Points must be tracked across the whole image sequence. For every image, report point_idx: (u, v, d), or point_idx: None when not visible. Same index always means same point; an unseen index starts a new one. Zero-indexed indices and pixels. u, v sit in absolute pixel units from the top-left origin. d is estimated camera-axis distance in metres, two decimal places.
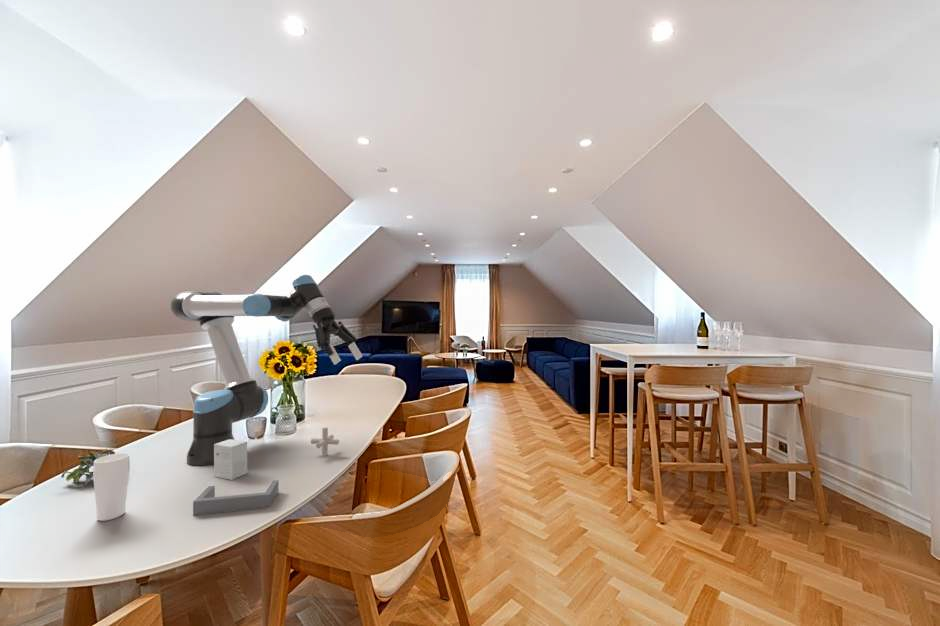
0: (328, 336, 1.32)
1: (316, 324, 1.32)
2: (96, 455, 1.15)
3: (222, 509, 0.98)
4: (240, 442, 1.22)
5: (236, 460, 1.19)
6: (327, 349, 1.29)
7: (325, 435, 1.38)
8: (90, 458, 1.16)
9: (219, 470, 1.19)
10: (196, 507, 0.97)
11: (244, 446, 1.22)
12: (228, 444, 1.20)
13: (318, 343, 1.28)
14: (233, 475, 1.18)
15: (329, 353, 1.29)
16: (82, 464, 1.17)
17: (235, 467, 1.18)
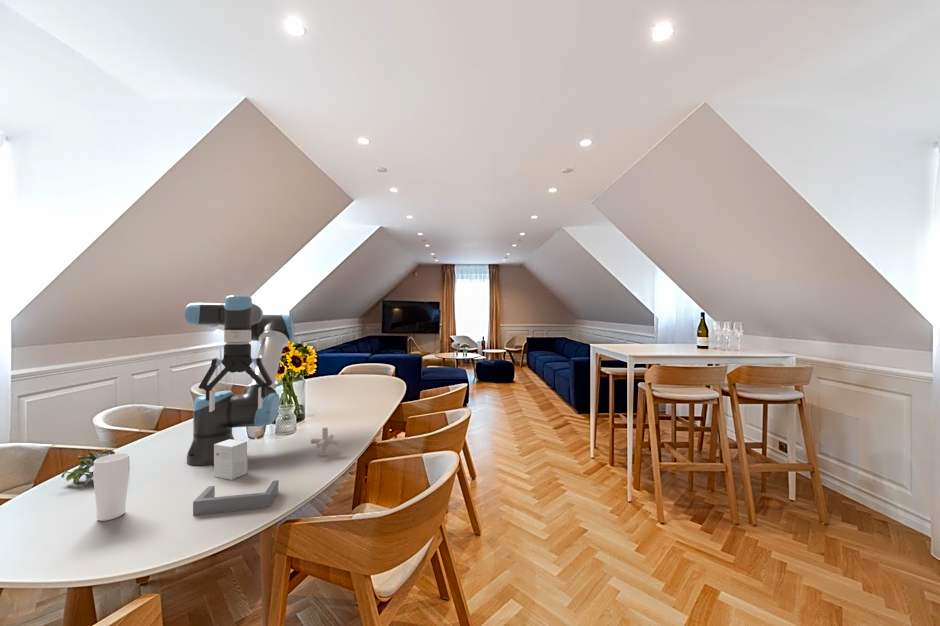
0: (216, 379, 1.19)
1: None
2: (96, 455, 1.15)
3: (222, 509, 0.98)
4: (240, 442, 1.21)
5: (236, 460, 1.19)
6: None
7: (325, 435, 1.38)
8: (90, 458, 1.16)
9: (219, 470, 1.19)
10: (196, 507, 0.97)
11: (244, 446, 1.22)
12: (228, 444, 1.20)
13: None
14: (233, 475, 1.18)
15: None
16: (82, 464, 1.17)
17: (235, 467, 1.18)
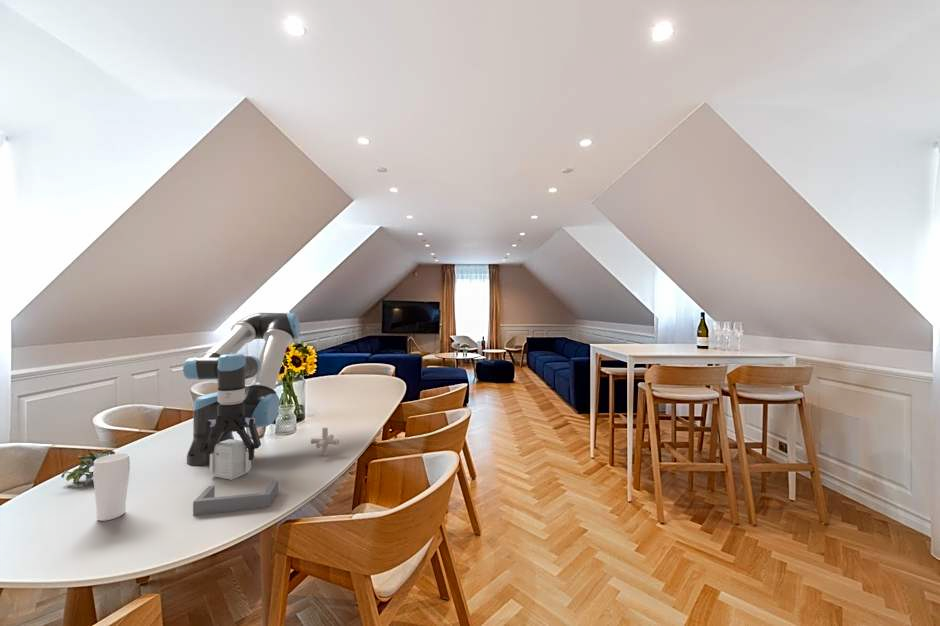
0: (213, 441, 1.19)
1: None
2: (96, 455, 1.15)
3: (222, 509, 0.98)
4: (240, 442, 1.21)
5: (236, 460, 1.19)
6: None
7: (325, 435, 1.38)
8: (90, 458, 1.16)
9: (219, 470, 1.19)
10: (196, 507, 0.97)
11: (244, 446, 1.22)
12: (228, 443, 1.20)
13: None
14: (233, 475, 1.18)
15: None
16: (82, 464, 1.17)
17: (235, 466, 1.18)
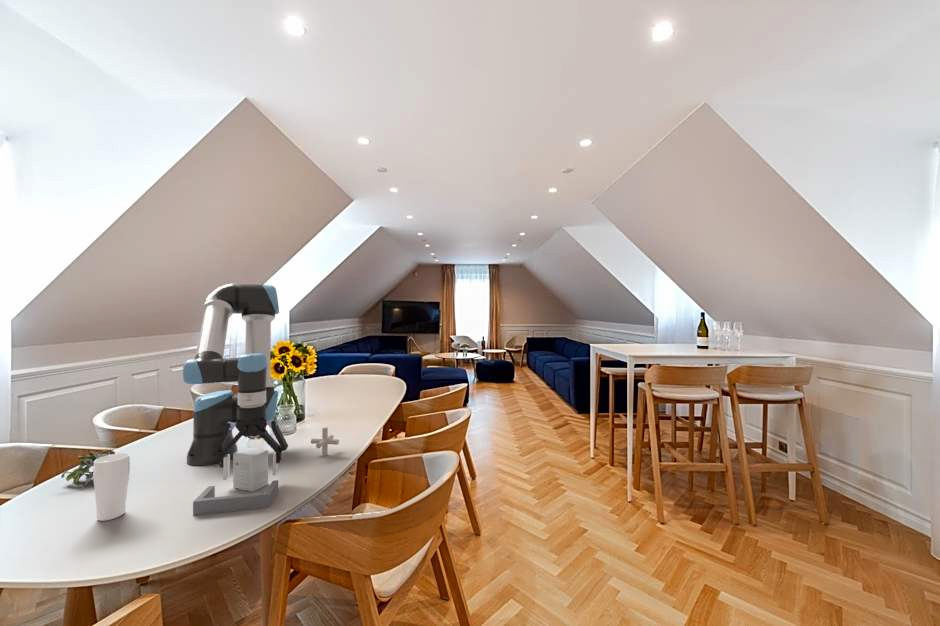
0: (230, 445, 1.11)
1: None
2: (96, 455, 1.15)
3: (222, 509, 0.98)
4: (261, 451, 1.14)
5: (257, 471, 1.11)
6: None
7: (325, 435, 1.38)
8: (90, 458, 1.16)
9: (239, 481, 1.11)
10: (196, 507, 0.97)
11: (265, 455, 1.14)
12: (248, 453, 1.12)
13: None
14: (254, 487, 1.10)
15: None
16: (82, 464, 1.17)
17: (256, 477, 1.11)
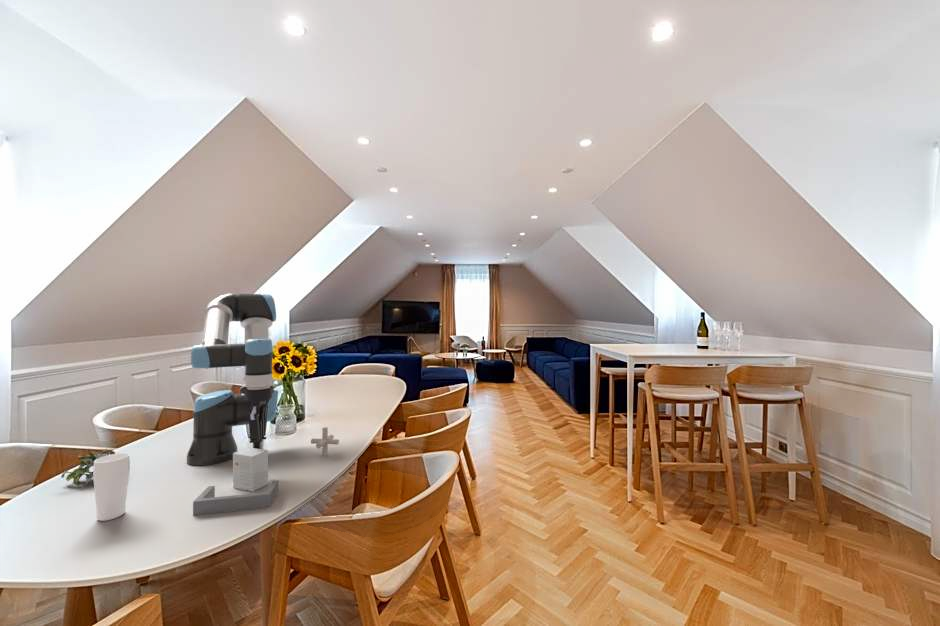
0: None
1: None
2: (96, 455, 1.15)
3: (222, 509, 0.98)
4: (260, 451, 1.14)
5: (257, 471, 1.11)
6: None
7: (325, 435, 1.38)
8: (90, 458, 1.16)
9: (239, 481, 1.11)
10: (196, 507, 0.97)
11: (265, 455, 1.14)
12: (248, 453, 1.12)
13: None
14: (254, 487, 1.10)
15: None
16: (82, 464, 1.17)
17: (256, 477, 1.11)
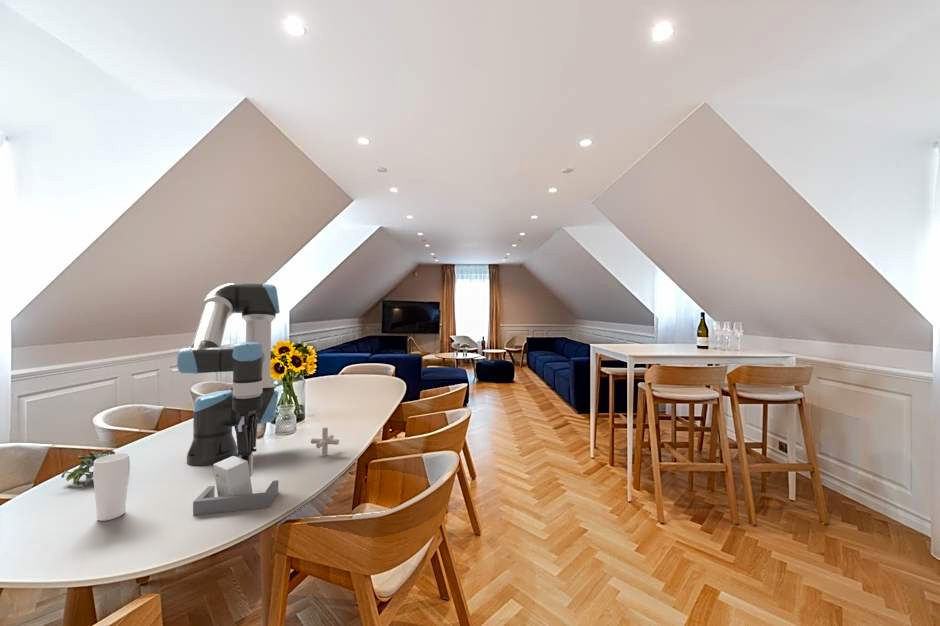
0: None
1: None
2: (96, 455, 1.15)
3: (222, 509, 0.98)
4: (240, 462, 1.04)
5: (235, 484, 1.02)
6: None
7: (325, 435, 1.38)
8: (90, 458, 1.16)
9: (221, 493, 1.04)
10: (196, 507, 0.97)
11: (244, 466, 1.04)
12: (227, 464, 1.03)
13: None
14: None
15: None
16: (82, 464, 1.17)
17: (235, 491, 1.02)
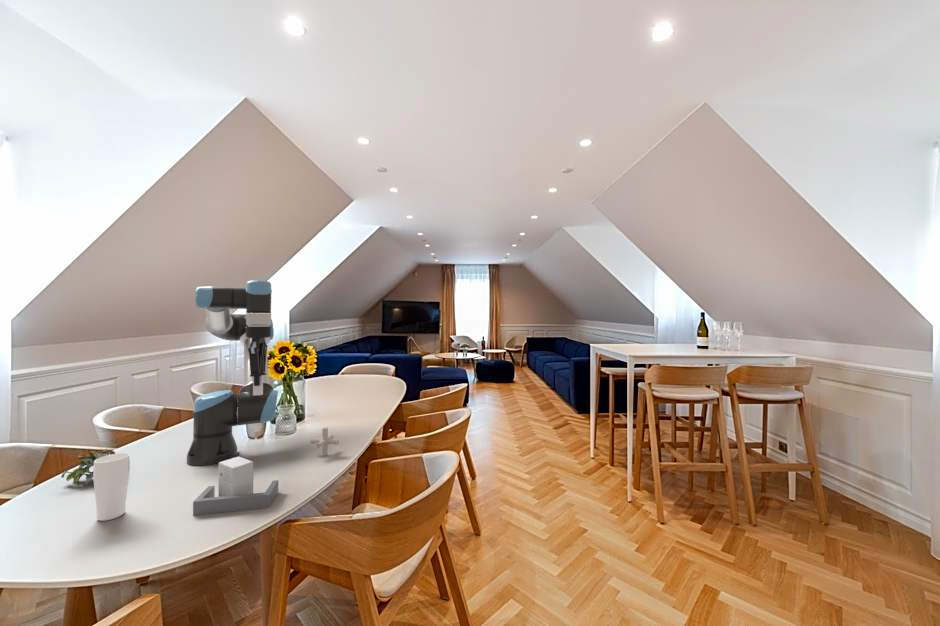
0: None
1: None
2: (96, 455, 1.15)
3: (222, 509, 0.98)
4: (245, 462, 1.05)
5: (238, 484, 1.02)
6: None
7: (325, 435, 1.38)
8: (90, 458, 1.16)
9: (223, 493, 1.04)
10: (196, 507, 0.97)
11: (249, 467, 1.05)
12: (232, 463, 1.04)
13: None
14: None
15: None
16: (82, 464, 1.17)
17: (237, 491, 1.02)
